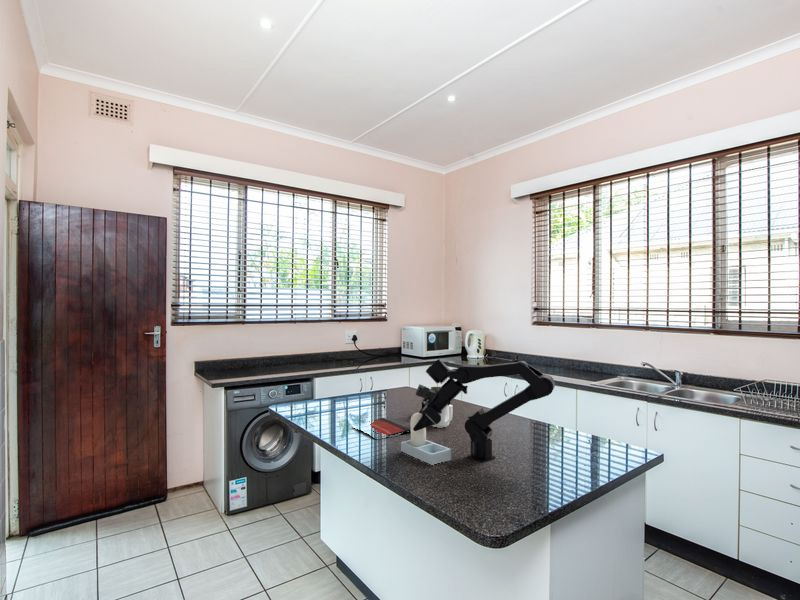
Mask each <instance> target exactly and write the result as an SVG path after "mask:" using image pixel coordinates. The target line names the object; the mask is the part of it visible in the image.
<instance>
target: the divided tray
mask: <svg viewBox="0 0 800 600" xmlns="http://www.w3.org/2000/svg"><path fill="white" fill-rule="evenodd" d="M401 451H403V452H405V453H407V454H409V455H411V456H413V457H415V458H418V459H420V460H422V461H424V462H427V463H429V464H431V465H433V466H435V465H434V464H437V463H440V464H442V463H441V462H443V463H446V462H449V461H452V448H449V447H446V446H444V445H441V444H438V443H435V442H433V441H431V440H427V439H426V445H424V446H421V447H417V448H416V447H414V446H411V439H408V440H404V441H401V442H400V452H401ZM415 458H414V459H415ZM422 461H421V462H422ZM445 461H446V462H445ZM424 462H423V463H424ZM429 464H428V465H429ZM431 465H430V466H431ZM437 465H438V464H437Z"/></svg>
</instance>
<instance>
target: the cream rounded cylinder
mask: <svg viewBox="0 0 800 600" xmlns="http://www.w3.org/2000/svg"><path fill="white" fill-rule="evenodd" d="M421 417H422V413H419V412H415V413H413V414H412V415H411V418H410V429H411V433H410V440H411V446H414V447H416V448H417V447H421V446H424V445H426V440H427V427H426V428H423V429H420V430H418V431H414V430H413V428H414V426H415V425H416V424H417V422H418V421H419V419H420V418H421Z"/></svg>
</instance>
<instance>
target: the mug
mask: <svg viewBox="0 0 800 600" xmlns="http://www.w3.org/2000/svg"><path fill="white" fill-rule="evenodd" d="M449 407H450V417H449ZM453 409H454V406H453V405H452V404H450V405H447V406H446V407H445V408H444V409H443V410H442V413H441V421H440V422H439V423H438V424H435V425H432V426H433V427H432V428H434V427H437V428H436V429H444V428H443V427H445V428H447V427H448V426H449V424H450V422H451V421H452V420H453V416H454V414H453V412H454V411H453Z"/></svg>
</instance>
